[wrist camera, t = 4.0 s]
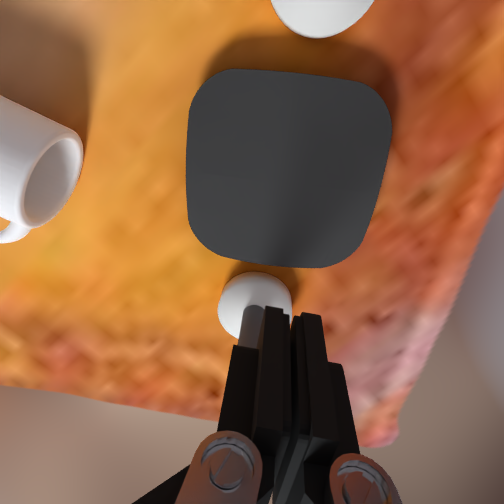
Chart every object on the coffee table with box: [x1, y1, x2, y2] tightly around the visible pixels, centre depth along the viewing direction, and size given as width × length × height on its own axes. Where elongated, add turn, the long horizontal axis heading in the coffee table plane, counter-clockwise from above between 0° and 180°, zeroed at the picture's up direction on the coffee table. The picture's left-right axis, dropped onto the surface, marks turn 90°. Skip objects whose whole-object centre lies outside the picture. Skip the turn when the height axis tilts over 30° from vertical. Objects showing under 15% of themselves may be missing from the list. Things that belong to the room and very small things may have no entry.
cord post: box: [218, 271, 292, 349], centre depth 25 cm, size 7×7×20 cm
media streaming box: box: [186, 69, 392, 268], centre depth 27 cm, size 15×15×3 cm
